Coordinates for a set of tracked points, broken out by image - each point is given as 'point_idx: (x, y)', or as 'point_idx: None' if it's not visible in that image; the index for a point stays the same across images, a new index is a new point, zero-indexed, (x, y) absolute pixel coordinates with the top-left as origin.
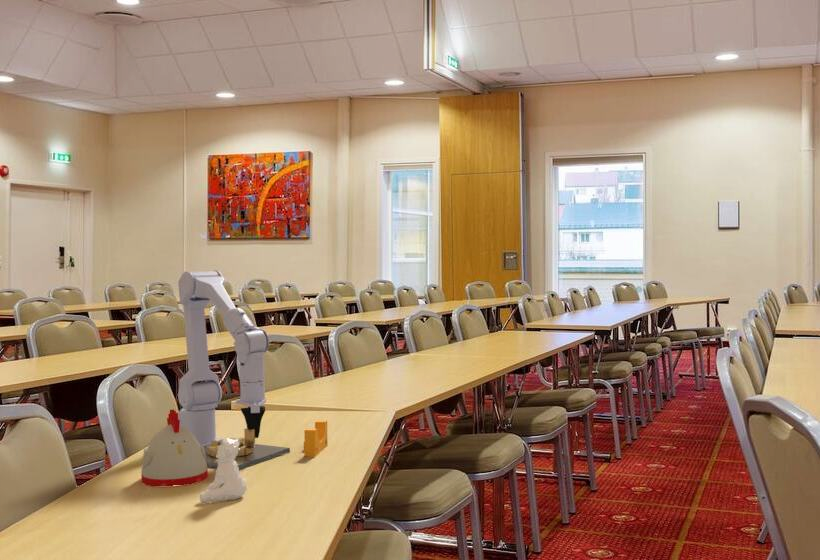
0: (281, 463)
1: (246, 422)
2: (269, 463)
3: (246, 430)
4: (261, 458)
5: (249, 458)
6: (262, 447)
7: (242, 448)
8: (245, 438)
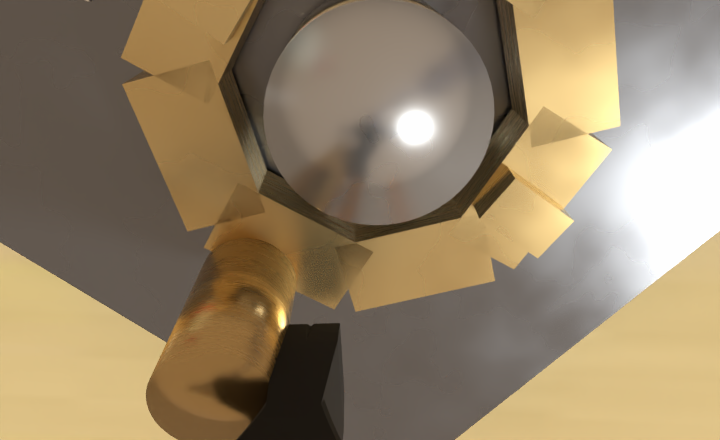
0: (83, 404)
1: (240, 438)
2: (89, 342)
3: (157, 368)
4: (131, 314)
5: (106, 238)
6: (482, 336)
7: (206, 217)
8: (197, 296)
